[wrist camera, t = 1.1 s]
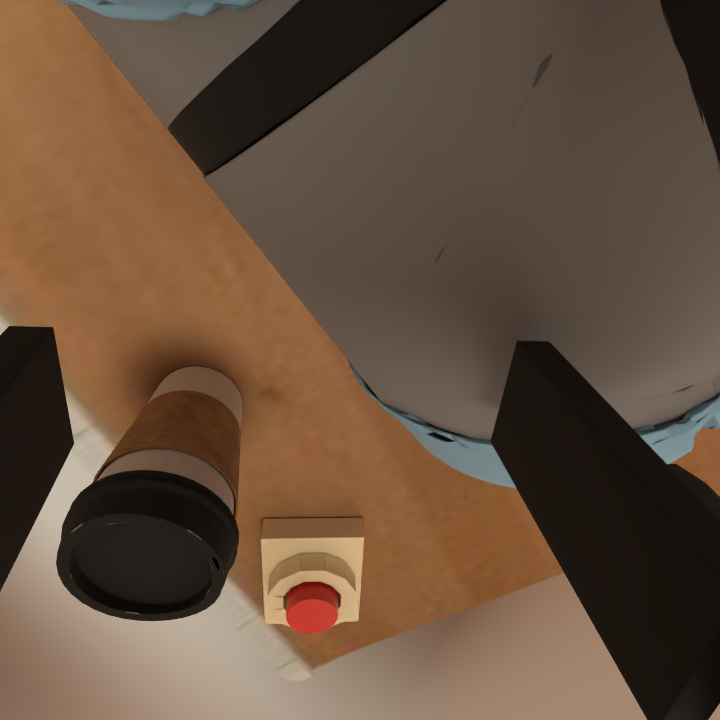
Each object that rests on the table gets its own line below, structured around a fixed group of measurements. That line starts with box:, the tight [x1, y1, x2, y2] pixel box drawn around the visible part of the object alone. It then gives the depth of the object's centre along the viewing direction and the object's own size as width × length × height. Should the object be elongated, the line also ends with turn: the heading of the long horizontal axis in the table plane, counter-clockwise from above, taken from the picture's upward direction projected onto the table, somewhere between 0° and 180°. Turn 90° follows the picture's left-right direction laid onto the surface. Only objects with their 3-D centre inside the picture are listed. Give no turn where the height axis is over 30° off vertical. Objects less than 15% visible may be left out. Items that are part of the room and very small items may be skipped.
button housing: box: [261, 517, 364, 627], centre depth 45 cm, size 10×8×4 cm
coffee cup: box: [56, 366, 242, 621], centre depth 32 cm, size 8×8×15 cm
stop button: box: [286, 581, 338, 633], centre depth 43 cm, size 4×4×2 cm
